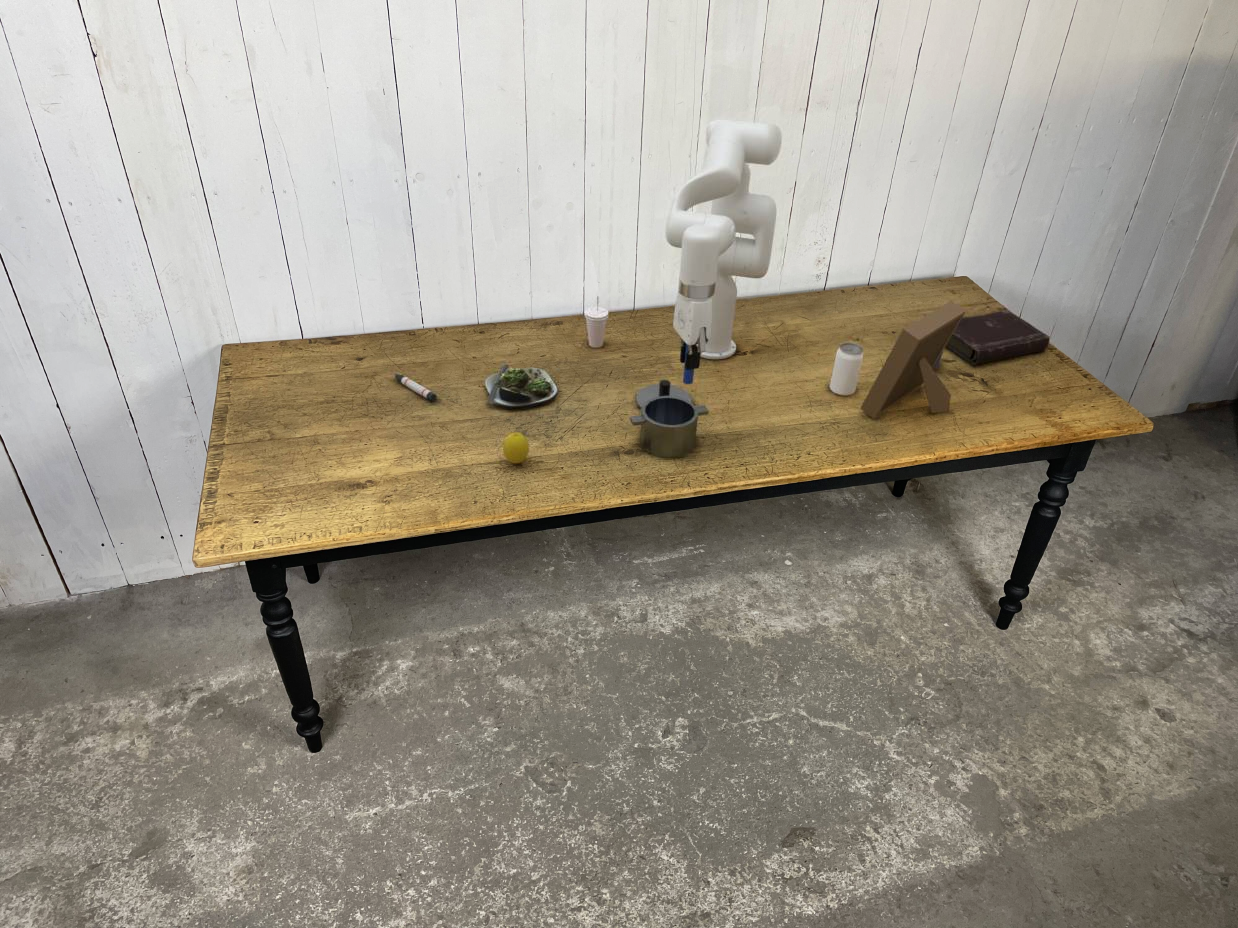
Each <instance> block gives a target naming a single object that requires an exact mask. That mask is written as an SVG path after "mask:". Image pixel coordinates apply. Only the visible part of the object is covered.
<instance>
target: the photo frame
mask: <svg viewBox="0 0 1238 928" xmlns="http://www.w3.org/2000/svg"><path fill="white" fill-rule="evenodd" d="M966 312H967V309H965V308H964V307H962V306H961V305H959V304H957V303H956V302H954V301H953V300H950V301H948V302H946V303H945V304H942V305H941V306H940V307H938V308H936V309H935V310H933V311H931V312H930V313H927V314H926V315H925V316H923V317H921V318H919V319H918V320H916V321H914V322H913V323H911V324H909V325H907V326H906V327H905V328H903V329H902V330H901V332H900V334H899V336H898V337H897V340H896V341H895V343H894V345H893V347H892V349H891V351H890V353H889V355H888V356H887V358H886V360H885V362H884V364H883V365H882V367H881V369H880V371H879V373H878V374H877V376H876V378H875V380H874V382H873V384H872V386H871V388H870V390H869V392H868V393H867V394H866V396H865V398H864V401H863V402H862V404H861V406H860V408H859V409H860V410H861V411H862V412H864V413H865V414H866V415H868V416H869V417H871V418H872V419H873V420H875V419H877V418H878V417H880V416H881V415H883V414H884V413H886V412H887V411H888V410H890V409H891V408H893V407H895V406H896V405H897V404H899V403H900V402H902V401H903V400H905V399H906V398H908V397H909V396H910V395H912V394H913V393H915V392H917V391H918V390H919V389H921V388H922V386H923V387H924V391H925V395H926V399H927V402H928V406H929V410H930V413H931V414H938V413H947V412H949V409H950V405H951V400H952V399H951V398H952V394H951V393H950V391H949V390H948V388H947V387H946V386H945V384H944V383H943V381H942V380H941V379H940V376H939V375H938V374H937V372H935V370H934V368H932V367H933V366H934V364H935V362H936V361H937V359H938V357H939V356H940V354H941V352H942V351H943V352H944V350H945V348H946V344H947V342H948V341H949V339H950V337H951V336H952V334H953V332H954V331H955V329H956V327H957V326H958V324H959V322H960V321H961V319H962V318H963V317H965V314H966ZM943 349H944V350H943Z"/></svg>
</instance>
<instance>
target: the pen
mask: <svg viewBox="0 0 1238 928" xmlns="http://www.w3.org/2000/svg"><path fill="white" fill-rule="evenodd" d="M694 346H697V344H694V345H693V347H694ZM686 353H688V344H686ZM686 353H685V360H686ZM683 364H684V366H683V376H682V383H683V384H685V385H691V384H693V383H694V376H695V369H690V370H686V369H685V363H683Z"/></svg>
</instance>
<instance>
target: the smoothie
mask: <svg viewBox="0 0 1238 928" xmlns="http://www.w3.org/2000/svg"><path fill="white" fill-rule="evenodd" d="M599 299H600V296H599V295H596V300H595V301H596V303H595V304H596V305H595V306H590V307H588V308H586V309H585V310H584V318H585V323H586V330H587V339H588V345H589V347H592V348H595V349H597V348H601V347H602V346H603V345H604V339H605V332H606V326H607V320H608V318H609V316H610V315H609V310H608V309H607V308H604V307H603V306H600V305H599V303H600V300H599Z"/></svg>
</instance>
